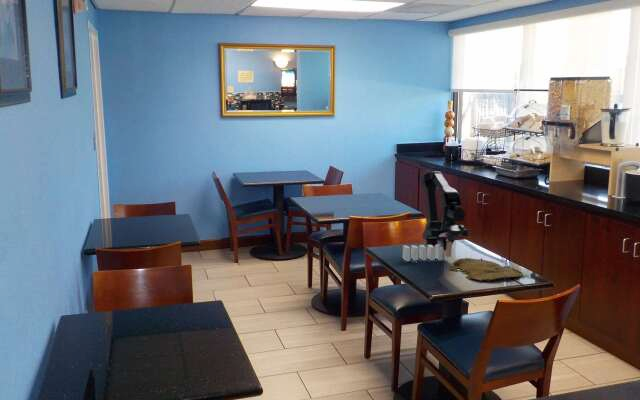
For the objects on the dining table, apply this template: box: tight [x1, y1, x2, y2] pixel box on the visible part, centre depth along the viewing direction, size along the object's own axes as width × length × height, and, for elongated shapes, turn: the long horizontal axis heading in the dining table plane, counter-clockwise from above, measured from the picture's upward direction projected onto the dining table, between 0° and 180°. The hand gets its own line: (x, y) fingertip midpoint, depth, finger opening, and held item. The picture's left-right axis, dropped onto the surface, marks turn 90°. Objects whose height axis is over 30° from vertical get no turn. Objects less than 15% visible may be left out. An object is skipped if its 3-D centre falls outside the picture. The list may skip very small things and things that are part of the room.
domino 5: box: [434, 244, 444, 261], centre depth 270 cm, size 4×2×7 cm, turn 13°
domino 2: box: [410, 244, 419, 261], centre depth 268 cm, size 4×2×7 cm, turn 13°
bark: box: [448, 257, 524, 282], centre depth 253 cm, size 28×4×30 cm
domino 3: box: [418, 244, 427, 261], centre depth 269 cm, size 4×2×7 cm, turn 13°
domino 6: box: [442, 239, 453, 258], centre depth 270 cm, size 4×2×7 cm, turn 13°
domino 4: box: [426, 245, 435, 261], centre depth 270 cm, size 4×2×7 cm, turn 13°
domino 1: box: [402, 245, 411, 261], centre depth 267 cm, size 4×2×7 cm, turn 13°
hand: (446, 250), depth 271 cm, fingers closed on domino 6, 2 cm apart
